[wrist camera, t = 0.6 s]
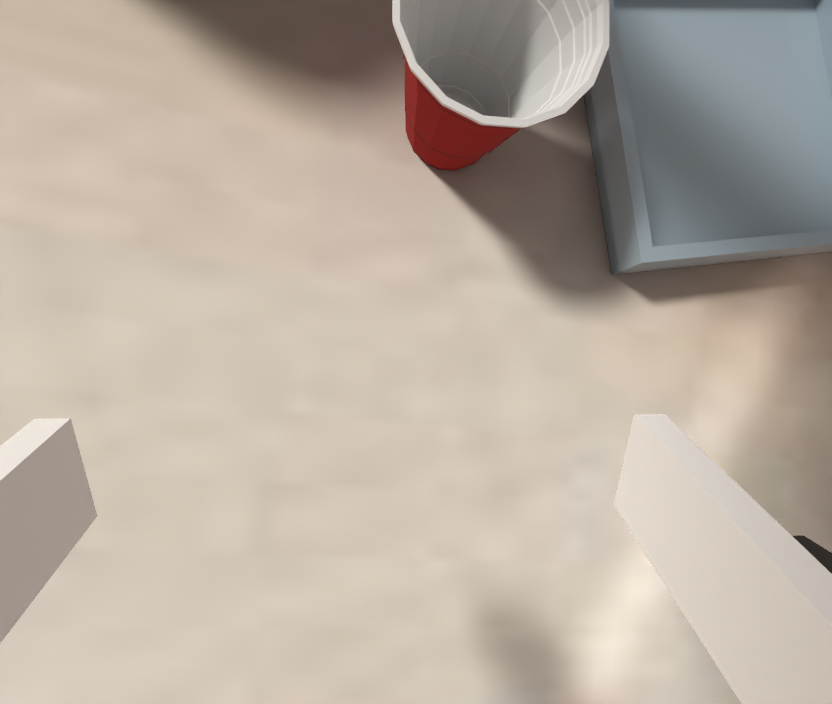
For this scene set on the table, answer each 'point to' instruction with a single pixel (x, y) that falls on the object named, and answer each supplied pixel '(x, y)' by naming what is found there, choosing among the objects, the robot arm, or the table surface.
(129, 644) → the table surface
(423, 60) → the plastic cup
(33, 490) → the robot arm
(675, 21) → the tray
